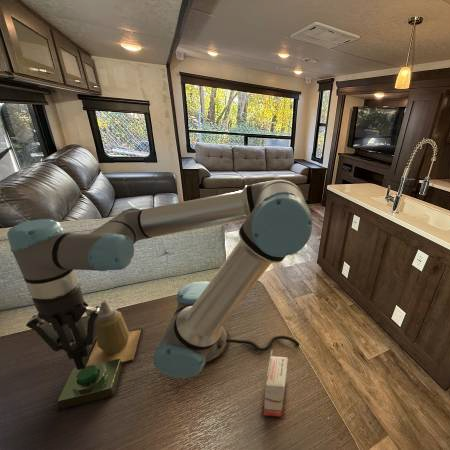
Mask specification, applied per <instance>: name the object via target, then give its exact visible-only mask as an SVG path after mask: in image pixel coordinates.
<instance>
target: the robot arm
mask: <svg viewBox="0 0 450 450" xmlns="http://www.w3.org/2000/svg"><path fill="white" fill-rule="evenodd" d="M241 221H242V222H243V221H244V222H243V224H242V225H241V226H240V228H239V229H238V236H239V239H240V240H239V241H238V243H237V244H236V245H235V247H234V248H233V250H232V251H231V252H230V254H228V256H227V258H226V259H225V260H224V262H223V263H222V265H221V266H220V267H219V269H218V270H217V271H216V272H215V274H214V275H213V277H212V278H211V280H210V281H202V280H201V281H194V282H191V283H188V284H186V285H184V286H182V287H181V288H180V289H179V290H178V291H177V295H176V301H177V307H176V310H175V312H174V313H173V316H172V318H171V320H170V322H169V324H168V326H167V327H166V329H165V331H164V333H163V335H162V337H161V340H160V342H159V343H158V346H157V347H156V348H155V353H154V354H153V358H152V362H153V366H154V367H155V368H156V369H157V371H158V372H160V373H161V374H162V375H165V376H167V377H169V378H170V377H171V378H174V379H188V378H193V377H195V376H198V374H199V375H200V373H201V372H202V371H203V369H204V366H205V365H206V364H209V363H211V362H213V361H215V360H216V359H218V358H219V357H220V356H221V355H222V354H223V353H224V352H225V350H226V349H227V346H228V343H233V344H246V345H250V346H252V347H253V348H254V349H256V350H257V351H259V352H265V351H267V350H269V349H270V348H271V347H272V344H273V343H274V342H275V341H276V340H287V341H290V342H292V343H293V344H294V345H296V346H300V345H301V344H300V343H299V342H298V341H297V340H296V339H295V338H293V337H291V336H287V335H277V336H274V337H273V338H271V339H270V340H269V341H268V343H267V345H266V346H265V347H260V346H259V345H258V344H256V343H255V342H253V341H250V340H247V339H246V340H245V339H233V338H228V334H227V330H226V329H225V327H224V326H223V324H224V323H225V322H226V321H227V320H228V318H230V316H231V315H232V314H233V312H234V311H235V310H236V308H237V307H238V306H239V305H240V303H241V302H242V301H243V300H244V299H245V297H246V296H247V295H248V294H249V292H250V291H251V290H252V288H253V287H254V286H255V285H256V283H258V281H259V280H260V278H261V277H262V276H263V274H264V273H265V272H266V271H267V270H268V268H269V267H270V266H271V264H279V263H281V262H283V260H284V259H285V258H286V257H287V256H294V255H295V254H297V253H298V252H300V251H301V250H302V249H303V248H304V247H305V246H306V245H307V244H308V242H309V239H310V238H311V235H312V232H313V217H312V212H311V209H310V207H309V205H308V203H307V202H306V199H305V196H304V194H303V192H302V190H301V189H300V187H298V186H297V185H296V184H295V183H294V182H291V181H289V180H285V179H272V180H267V181H263V182H258V183H253V184H248V185H245V186H244V188H243V189H242V190H238V191H233V192H227V193H222V194H218V195H212V196H207V197H202V198H196V199H195V198H194V199H191V200H186V201H180V202H176V203H175V202H174V203H170V204H164V205H159V206H154V207H148V208H142V207H137V206H134V207H129V208H128V209H125V210H123V211H121V212H119V213H118V214H117V215H115V216H114V217H113V218H111V219H110V220H108V221H107V222H105V223H103V224H102V225H101V226H99V227H97V228H95V229H94V230H93V231H90V232H89V233H88V232H87V233H86V232H85V233H83V232H65V231H64V228H63V227H62V225H61V223H60V222H59V221H56V220H54V219H48V218H47V219H46V218H45V219H33V220H29V221H24V222H21V223H17V224H16V225H13V226H12V227H10V228H9V229H8V231H7V233H6V236H7V239H8V243H9V248H10V252H11V253H12V254H13V256H14V259H15V261H16V264H17V265H18V268H19V270H20V273H21V275H22V277H23V280H24V282H25V285H26V288H27V289H28V292H29V295H30V297H31V298H32V302H33V304H34V307H35V309H36V311H37V314H34V315H33V316H32V317H31V318H30V319H29V320H28V322H27V323H26V324H25V326H26V327H27V328H29V329H31V330H33V331H35V332H36V333H37V335H38V336H39V337H40V338H41V339H42V340H43V341H44V342H45V343H46V344H47V346H49V347H50V349H51V350H53V351H54V352H59V351H61V350H62V351H64V352H66V355H67V358H68V360H73V362H74V364H75V368H77V370H80V369H85V367H86V365H87V363H88V361H89V355H90V354H89V353H90V352H91V347H90V346H91V345H93V344H94V341H95V339H96V337H97V336H96V329H97V317H98V314H99V312H100V310H101V305H96V306H95V307H92V306H89V304H88V302H87V301H85V300H84V294H83V291H82V289H81V285H80V283H79V278H78V275H77V273H76V270H78V271H97V272H106V271H120V270H121V271H122V270H125V269H126V268H127V267H128V266H129V265H130V264H131V261H132V259H133V258H134V254H135V244H136V243H137V242H138V241H142V240H147V239H153V238H156V237H161V236H168V235H172V234H177V233H178V234H179V233H184V232H189V231H193V230H199V229H204V228H209V227H216V226H221V225H226V224H231V223H236V222H241ZM85 313H86V318H87V319H88V320H87V325H86V326H87V327H86V329H85V326H84V324H83V320H82V318H83V315H84V314H85Z"/></svg>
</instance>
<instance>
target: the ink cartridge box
mask: <svg viewBox="0 0 450 450" xmlns="http://www.w3.org/2000/svg"><path fill="white" fill-rule="evenodd" d="M288 358H289V357H285V356H275V355H273V350H271V351H270V357H269V361H268V362H269V363H268V368H267V374H266V379H265V386H264V404H263V407H264V408H263V416H270V417H280V418H281V417H282V415H283V414H282V413H283V405H284V397H285V389H286V381H287V371H288V360H289V359H288Z"/></svg>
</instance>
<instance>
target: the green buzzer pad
mask: <svg viewBox="0 0 450 450" xmlns="http://www.w3.org/2000/svg"><path fill="white" fill-rule="evenodd" d="M93 365H94V366H96V367H97V370H98V376H97V378H96V379H95V380H94V381H92V382H90V383H89V384H86V385H81V384H79V382H78V379H77V374H78V373H79V371H80V370H82V369H80V370H77V367H74V368H72V371H71V372H70V375H69V376H68V379H67V380H66V383H65V385H64V387H63V389H62V391H61V393H60V395H59V397H58V400H57V404H58V406H59V407H60V409H66V408H69V407H73V406H77V405H80V404H85V403H89V402H92V401H93V402H94V401H97V400H100V399H104V398H108V397H113V396H114V395H115V392H116V388H117V385H118V382H119V379H120V375H121V371H122V368H123V363H122V362H121V359H116V360H111V361H107V362H102V363H97V364H93ZM88 366H90V365H88ZM86 367H87V366H86Z"/></svg>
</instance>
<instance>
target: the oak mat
mask: <svg viewBox="0 0 450 450" xmlns="http://www.w3.org/2000/svg"><path fill="white" fill-rule="evenodd" d="M140 336H141V329H137V330H131V331H129V338H128V342H127V345H126V347H125V348H124V349H123V350H121V351H120V352H118V353H115V354H107V353H105V352H104V351H103V350H102V349H100V348H99V347H98V344H97V340H96V342H95V344H94V346H93V349H92V351H91V353H90V354H89V356H88V358H89V361H88V363H87V365H86V366H88V365H93V364H97V363H102V362H107V361H111V360H116V359H121V362H122V364H123V363H128V362H132V361H134V359H135V354H136V351H137V348H138V347H137V346H138V342H139V339H140Z"/></svg>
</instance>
